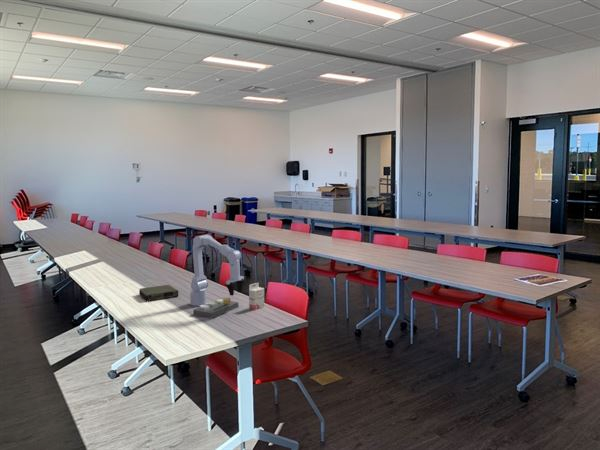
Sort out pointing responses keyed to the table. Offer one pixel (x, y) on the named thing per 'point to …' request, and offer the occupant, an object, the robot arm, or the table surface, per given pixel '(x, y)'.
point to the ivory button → (219, 301)
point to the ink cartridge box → (256, 296)
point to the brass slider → (226, 301)
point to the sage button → (212, 304)
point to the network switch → (158, 292)
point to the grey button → (204, 307)
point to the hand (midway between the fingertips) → (235, 293)
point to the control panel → (215, 310)
